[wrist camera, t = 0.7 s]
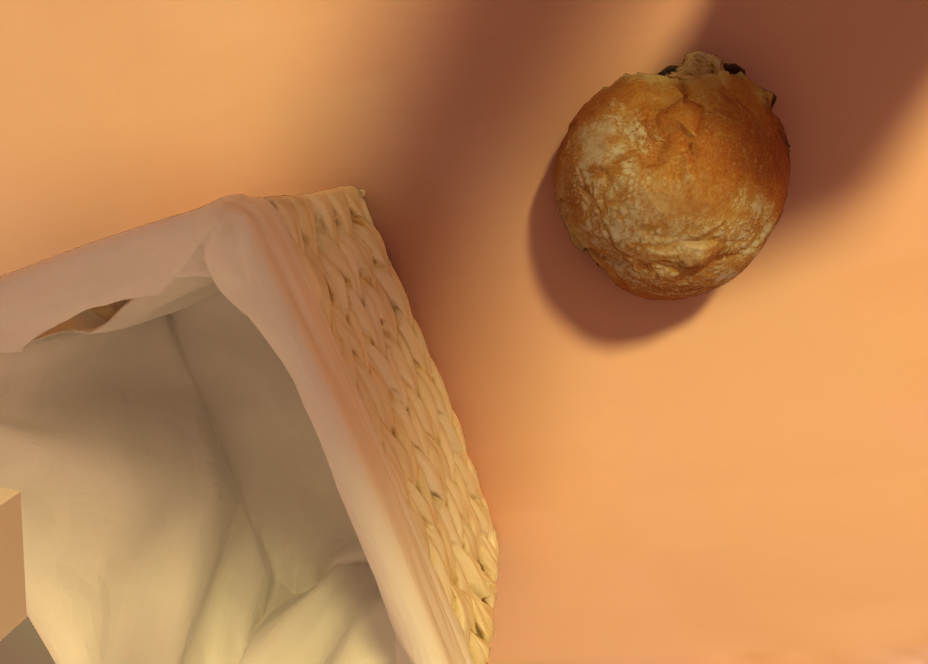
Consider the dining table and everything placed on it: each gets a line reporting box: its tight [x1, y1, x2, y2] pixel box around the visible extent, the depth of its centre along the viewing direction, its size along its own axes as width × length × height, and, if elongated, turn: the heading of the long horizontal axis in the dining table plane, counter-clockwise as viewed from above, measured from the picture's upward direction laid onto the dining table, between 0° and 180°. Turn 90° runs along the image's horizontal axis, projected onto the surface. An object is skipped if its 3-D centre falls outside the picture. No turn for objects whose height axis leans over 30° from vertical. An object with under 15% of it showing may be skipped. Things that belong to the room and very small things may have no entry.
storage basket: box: [0, 186, 500, 664], centre depth 34 cm, size 24×16×15 cm
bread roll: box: [553, 50, 791, 300], centre depth 33 cm, size 10×10×8 cm
